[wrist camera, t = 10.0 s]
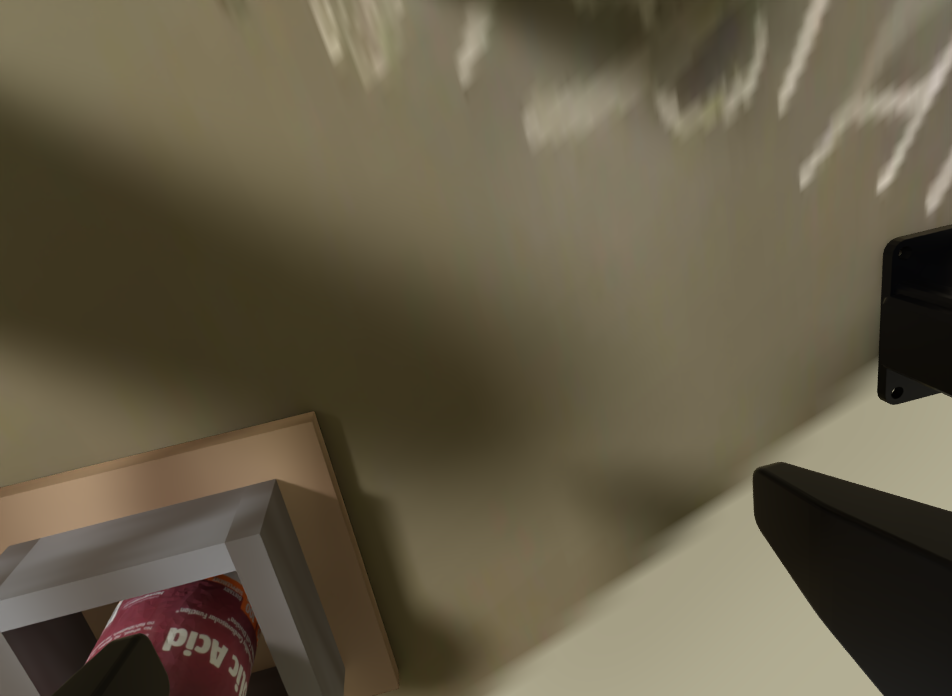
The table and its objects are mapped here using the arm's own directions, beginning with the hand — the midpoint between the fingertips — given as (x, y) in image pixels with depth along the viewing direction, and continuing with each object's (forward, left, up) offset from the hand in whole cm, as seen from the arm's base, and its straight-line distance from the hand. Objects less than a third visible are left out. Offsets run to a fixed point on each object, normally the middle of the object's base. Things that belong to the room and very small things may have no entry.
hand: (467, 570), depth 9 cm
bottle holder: (+10, +8, -12) cm, 18 cm away
